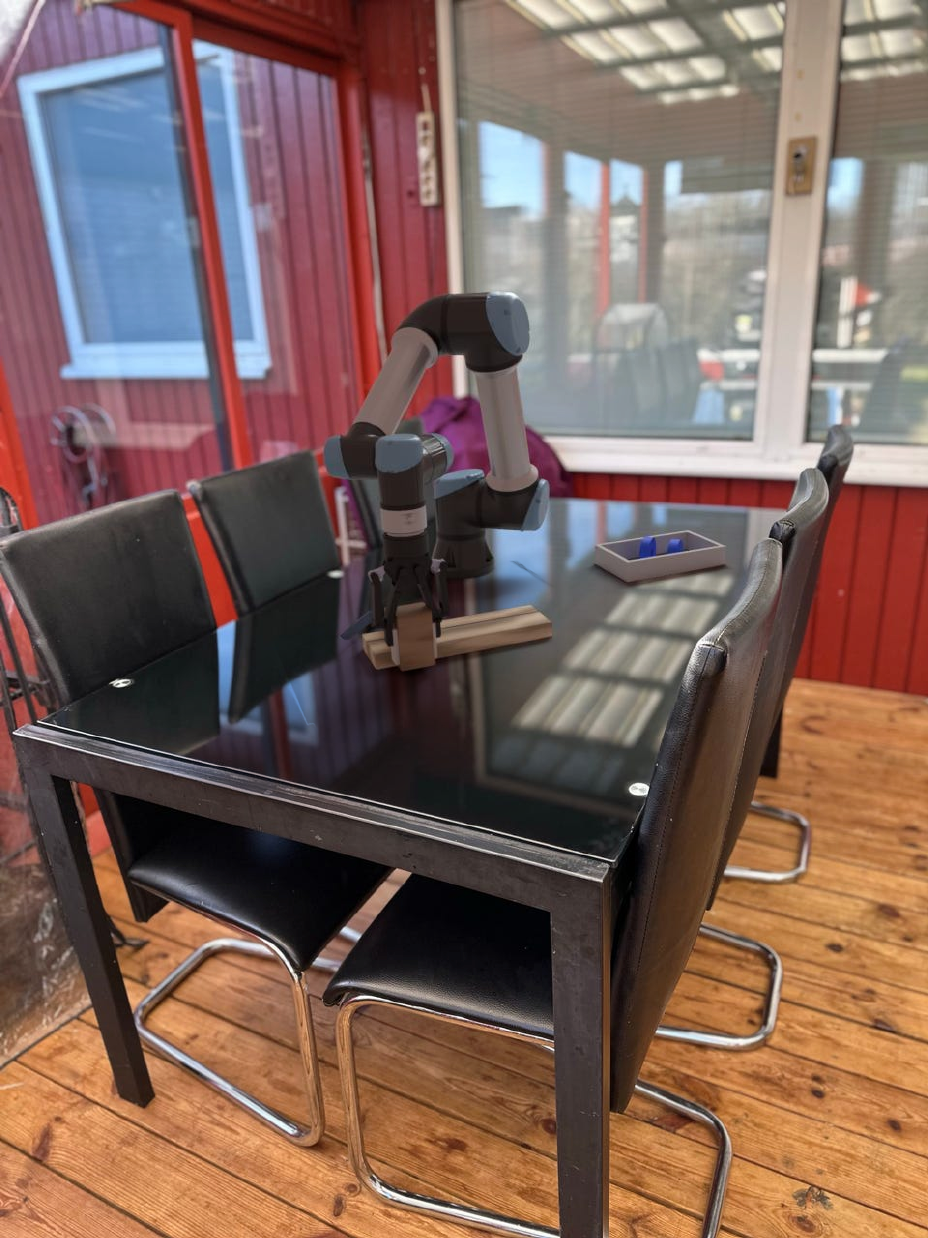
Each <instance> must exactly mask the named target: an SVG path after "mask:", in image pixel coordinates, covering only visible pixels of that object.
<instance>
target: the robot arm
mask: <svg viewBox="0 0 928 1238" xmlns="http://www.w3.org/2000/svg"><path fill="white" fill-rule="evenodd" d="M530 328H531V327H530V321H529V316H528V312H527V309H526V306H525V304H524V302H523V301H522V298H520V297H519V296H518V295H517V294H516V293H514V292H510V291H505V292H504V291H497V290H492V291H486V292H466V293H463V292H462V293H461V292H460V293H442V294H438V295H435V296H433V297H431V298H429V299H427V300H425V301H423V302H422V303H420V304H418V306H417V307H415V308H413V310H412V311H410V312H409V314H407V316H405V318H404V319H403V320H402V321H401V322H400V324H399V325H398V326H397V328H396V330H395V332H394V333H393V335H392V338H391V341H390V347H391V350H390V353H389V354H388V356H387V358H386V360H385V362H384V364H383V366H382V367H381V369H380V371H379V373H378V375H377V376H376V378H375V380H374V383H373V384H372V387H371V388H370V389H369V392H368V393H367V396H366V397H365V399H364V401H363V403H362V404H361V406H360V409H359V411H358V413H357V415H355V416H356V417H355V418H354V419H353V422H352V424H351V426H350V427H349V429H348V431H347V433H346V434H345V435H344V434H339V435H333V436H331V437H329V438H327V440H326V442H325V443H324V446H323V450H322V460H323V464H324V467H325V469H326V472H327V474H329V476H330V477H332V478H335V479H342V480H350V481H354V480H361V481H362V480H365V481H368V480H369V481H377V483H378V484H377V485H378V493H379V506H380V507H379V508H380V509H379V510H380V511H379V512H380V521H381V522H380V523H381V530H382V531H383V533H382V545H383V546H382V547H383V556H384V557H383V562H382V565H381V566H379V567H377V568H375V569H373V568H369V569H368V570H367V572H366V574H367V576H368V579H369V580H370V590H371V591H370V593H371V594H370V595H371V596H370V597H371V598H370V599H371V603H372V622H373V624H374V625H375V628H377V629H383V631H384V638H385V643H386V644H387V646H388V647H390V646H391V654H392V660H393V661H394V663H395V664H396V665H400V656H399V644H398V631H397V628H396V627H395V626H394V625H393V624H394V620H395V616H396V611H397V607H398V606H399V602H400V598H401V593H403V590H404V587H408V586H409V585H413V586H414V585H416V586H418V589H419V592H420V594H421V597H422V599H423V603H424V604H425V605H426V606H427V607H428V608H429V609H430V610H431V611H432V623H433V638H434V653H435V658H436V659H438V658H437V646H436V638H439V637H440V636H441V626H440V622H441V621H442V620H443V618H445V617H450V616H451V607H450V598H449V590H448V583H447V579H454V580H455V579H456V580H458V579H459V580H463V579H472V578H477V577H482V576H485V575H487V574H490V573H492V572H493V571H494V570H495V567H496V566H495V565H496V564H495V557H494V554H493V552H492V549H491V545H490V544H489V541H488V539H487V531H486V529H487V530H502V531H503V530H504V531H505V530H506V531H520V532H527V531H528V532H534V531H538V530H540V528H541V527H542V526H543V524H544V522H545V518H546V517H547V513H548V512H547V511H548V507H549V501H550V483H549V481H548V480H547V479H544V478H539V475H540V474H539V470H538V468H537V467H536V466H535V465H533V464H532V463H530V455H529V447H528V441H527V433H526V425H525V419H524V411H523V405H522V398H521V390H520V382H519V375H518V368H517V367H518V365H519V364H520V363H521V362H522V361H523V357H524V356H523V355H524V354H525V353H526V352H527V351H528V348H529V344H530V339H531V338H530V337H531V335H530V333H529V332H530V330H531V329H530ZM445 356H463V359H464V364H465V367H466V369H467V370H468V371H469V372H471V373H473V374H474V377H475V383H476V390H477V395H478V400H479V406H480V412H481V419H482V424H483V429H484V434H485V435H484V436H485V441H486V447H487V453H488V459H489V465H490V469H491V470H490V471H489V472H488V473H487V475H486V477H485V473H484V470H483V469H478V468H469V469H462V470H456V471H452V472H449V473H447V472H448V471H449V470H450V468H451V467H452V466H453V463H454V457H455V455H454V449H453V446H452V444H451V443H450V441H449V440H448V439H447V438H446V437H445V436H443V435H441V434H439V433H435V432H434V433H424V434H421V435H420V436H418V435H416V434H414V433H413V434H412V433H396V431H397V429H398V427H399V425H400V424H401V422H402V419H403V418H404V415H405V413H406V411H407V409H408V407H409V405H410V403H411V401H412V399H413V397H414V395H415V393H416V391H417V389H418V387H419V385H420V382H421V381H422V379H423V378H424V375H425V372H426V371H427V370H428V369H430V368H432V367H433V366H434V365H435V364H436V362H437V360H438V359H439V358H441V357H445ZM433 481H434V484H433V498H432V499H433V500H434V501H433V503H434V513H435V514H434V515H435V516H434V517H435V529H436V531H435V532H436V533H435V534H436V540H435V541H436V542H435V545H434V549H433V552H432V555H431V554H430V546H429V545H430V543H429V532H428V531H427V529H426V528H427V527H428V519H427V517H428V515H427V501H426V499H427V498H426V485H427V484H429V483H431V482H433ZM429 570H431V573H432V574H434V578H435V586H436V592H437V593H436V594H437V600H438V608H437V605H436V602H435V599H434V597H433V595H432V592H431V590H430V587H429V583H428V582H427V581H428V580H427V579H426V576H427V574H428V572H429ZM385 574H386V575H387V576H388V577H389V578H390V582H389V592H388V600H387V604H386V609H385V613H384V614H383V615H382V600H383V592H382V590H383V588H382V583H381V582H383V580H384V575H385Z"/></svg>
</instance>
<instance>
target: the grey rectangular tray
mask: <svg viewBox="0 0 928 1238" xmlns="http://www.w3.org/2000/svg"><path fill="white" fill-rule="evenodd" d="M643 537H644V536H642V537H636V538H631V539H629V538H628V539H623V540H618V541H612V542H611V541H610V542H604V543H599V544H594V564H596V565H597V566H598V567H601V569H604V570H606V571H607V572H609V573H610V574H613V575H614V576H616V577H617V578H619V579H621V580H622V581H623V582H626V583H630V582H631V583H632V582H635V581H636V582H637V581H642V580H643V581H644V580H648V579H649V580H650V579H653V578H659V577H664V576H665V575H666V576H670V574H671V575H675V573H676V574H682V573H685V572H690V571H691V572H692V571H696V570H702V569H707V568H713V567H717V566H722V565H725V564H726V555H727V552H726V551H727V550H726V549H727V546H726V545H725V544H722V543H720V542H717V541H715V540H712V539H710V538H708V537H706V536H703V535H701V534H698V533H696V532H694V531H691V530H689V529H686V530H682V531H681V530H680V531H673V532H668V533H667V532H666V533H662V534H661V533H660V534H655V535H648V536H647V537H654V538H655V540H656V556H654V557H648V558H642V559H639V550H640V545H641V541H642V539H643ZM671 539H680V540H682V542H683V552H679V553H673V554H667V549H668V545H669V542H670V540H671ZM686 549H687V550H686ZM688 550H689V551H688ZM666 576H665V577H666Z"/></svg>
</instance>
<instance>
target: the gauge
mask: <svg viewBox="0 0 928 1238" xmlns="http://www.w3.org/2000/svg"><path fill="white" fill-rule="evenodd" d="M385 609H386V608H384V613H385ZM393 625H394V626H395V627H396V628H397V631H398V644H399V656H400V665H398V666H397V667H398V668H399V669H400V671H402V672H406V671H412V670H415V669H416V670H417V669H421V668H427V667H430V666H431V667H432V666H436V659H435V653H434V638H433V623H432V611H431V610H430V609H429V608H428V607H427V606H426V604H425V602H424V601H422V602H415V603H410V604H409V603H408V604H403V605H398V607H397V611H396V616H395V620H394V624H393Z"/></svg>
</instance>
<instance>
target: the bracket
mask: <svg viewBox="0 0 928 1238" xmlns="http://www.w3.org/2000/svg"><path fill="white" fill-rule="evenodd" d="M642 537H643V539H642V541H641V545H640V550H639V558H638V559H642V558H648V557H654V556H657V555H656V540H655V538H654V537H648V536H642ZM679 552H684V550H683V542H682V540H680V539H671V540H670V542H669V545H668V549H667V553H666V555H667V554H673V553H679Z"/></svg>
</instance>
